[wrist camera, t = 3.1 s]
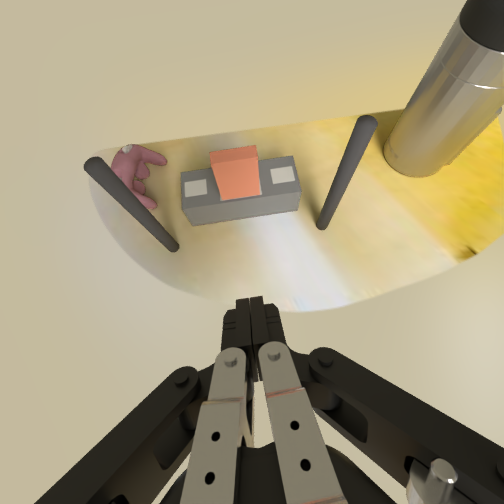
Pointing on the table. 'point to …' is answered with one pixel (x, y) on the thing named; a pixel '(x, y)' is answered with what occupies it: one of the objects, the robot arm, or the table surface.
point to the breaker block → (217, 210)
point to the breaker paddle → (236, 172)
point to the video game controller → (136, 169)
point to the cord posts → (139, 212)
